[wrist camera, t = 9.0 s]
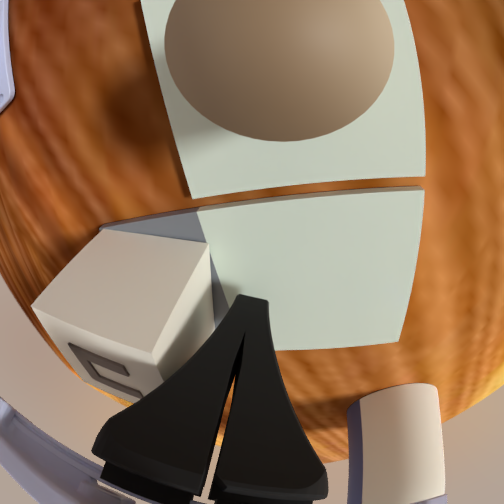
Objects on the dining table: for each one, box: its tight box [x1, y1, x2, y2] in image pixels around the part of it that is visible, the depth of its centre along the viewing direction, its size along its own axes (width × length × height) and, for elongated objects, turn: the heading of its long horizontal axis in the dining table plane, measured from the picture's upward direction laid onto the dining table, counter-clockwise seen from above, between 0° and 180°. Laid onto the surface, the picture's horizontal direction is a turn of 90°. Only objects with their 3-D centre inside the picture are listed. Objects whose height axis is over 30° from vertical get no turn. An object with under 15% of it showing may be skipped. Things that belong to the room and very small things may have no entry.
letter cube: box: [31, 229, 215, 403], centre depth 10 cm, size 5×5×5 cm
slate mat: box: [99, 207, 230, 329], centre depth 13 cm, size 5×8×1 cm, turn 11°
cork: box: [164, 0, 394, 142], centre depth 5 cm, size 4×4×4 cm
